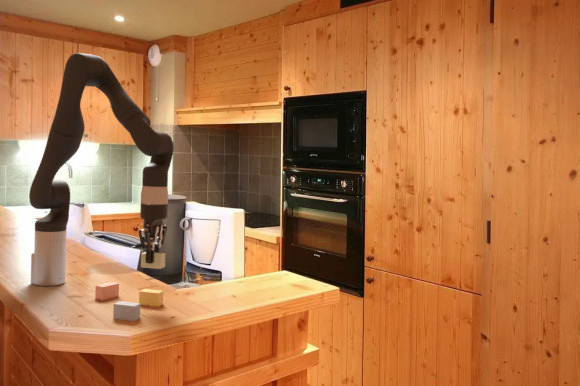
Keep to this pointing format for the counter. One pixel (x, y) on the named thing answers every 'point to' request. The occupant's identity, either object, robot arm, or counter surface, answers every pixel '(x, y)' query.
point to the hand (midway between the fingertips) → (152, 261)
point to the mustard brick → (151, 297)
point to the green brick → (158, 261)
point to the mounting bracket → (189, 284)
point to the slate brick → (126, 311)
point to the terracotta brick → (107, 290)
